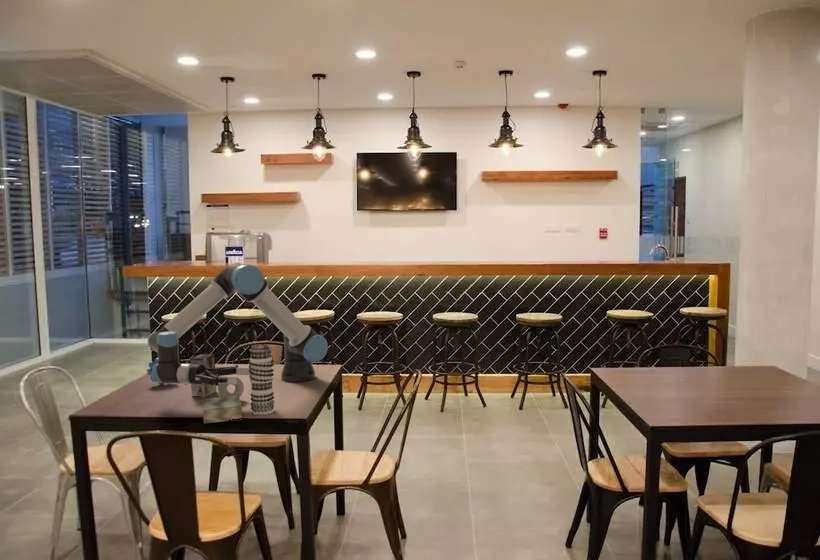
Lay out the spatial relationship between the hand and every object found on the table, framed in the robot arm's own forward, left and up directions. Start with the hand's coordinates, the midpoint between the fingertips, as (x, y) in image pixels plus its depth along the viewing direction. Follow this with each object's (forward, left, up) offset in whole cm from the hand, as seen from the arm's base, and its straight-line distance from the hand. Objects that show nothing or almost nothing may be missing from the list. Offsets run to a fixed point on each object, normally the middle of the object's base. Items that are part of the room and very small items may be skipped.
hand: (244, 375), depth 232 cm
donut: (+4, -17, -14) cm, 22 cm away
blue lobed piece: (+31, -54, -14) cm, 64 cm away
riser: (+9, +3, -13) cm, 16 cm away
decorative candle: (-6, +3, -14) cm, 15 cm away
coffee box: (+14, -31, -14) cm, 37 cm away
